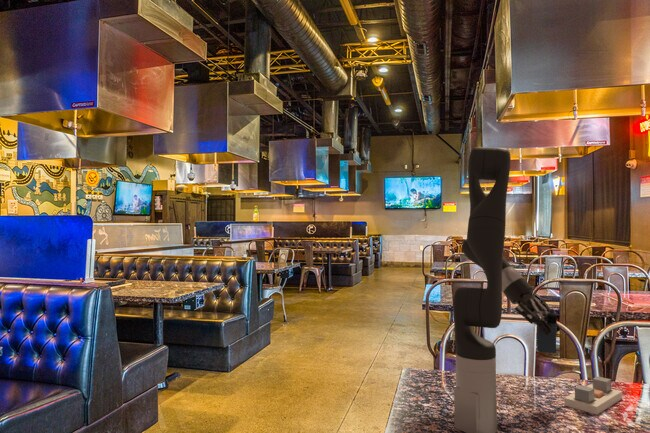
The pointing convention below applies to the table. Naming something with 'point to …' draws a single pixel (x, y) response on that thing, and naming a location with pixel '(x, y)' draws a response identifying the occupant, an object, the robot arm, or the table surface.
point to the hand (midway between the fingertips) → (554, 332)
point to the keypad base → (594, 401)
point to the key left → (584, 393)
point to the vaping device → (548, 341)
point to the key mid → (598, 393)
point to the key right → (602, 384)
